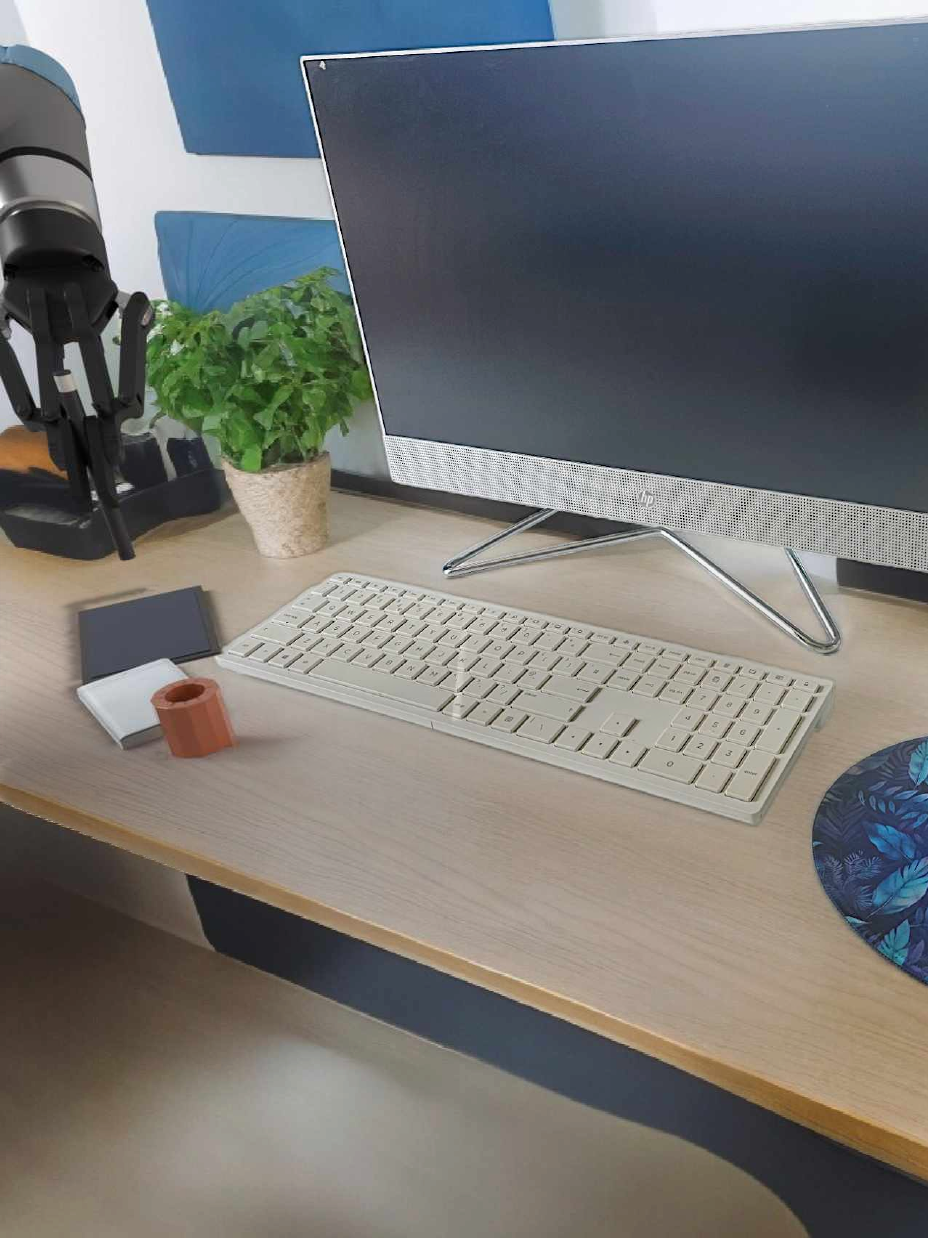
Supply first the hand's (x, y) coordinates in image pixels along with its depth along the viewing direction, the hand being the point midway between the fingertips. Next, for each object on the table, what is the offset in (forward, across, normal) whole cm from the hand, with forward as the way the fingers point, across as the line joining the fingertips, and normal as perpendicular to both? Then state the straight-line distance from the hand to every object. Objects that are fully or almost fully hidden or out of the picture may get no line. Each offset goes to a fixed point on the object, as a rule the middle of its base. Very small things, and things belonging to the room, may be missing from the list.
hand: (95, 502), depth 90 cm
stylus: (+2, 0, -7) cm, 7 cm away
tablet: (-1, +4, -30) cm, 30 cm away
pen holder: (+18, -2, -11) cm, 21 cm away
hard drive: (+11, +3, -19) cm, 22 cm away
